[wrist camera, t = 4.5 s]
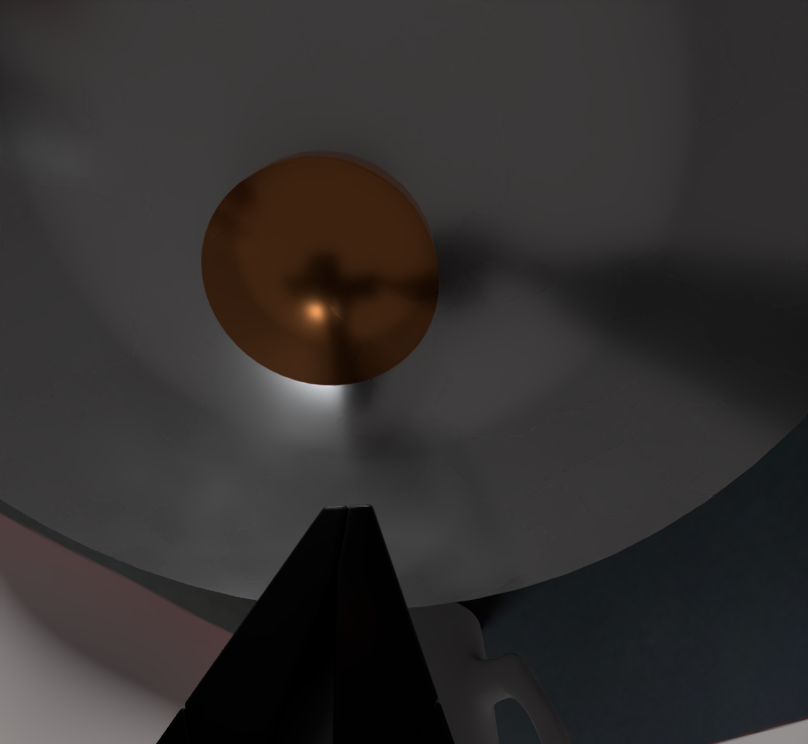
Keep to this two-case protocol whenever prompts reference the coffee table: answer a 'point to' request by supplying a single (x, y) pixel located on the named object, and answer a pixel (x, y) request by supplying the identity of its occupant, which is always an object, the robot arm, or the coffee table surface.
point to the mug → (478, 677)
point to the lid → (396, 275)
